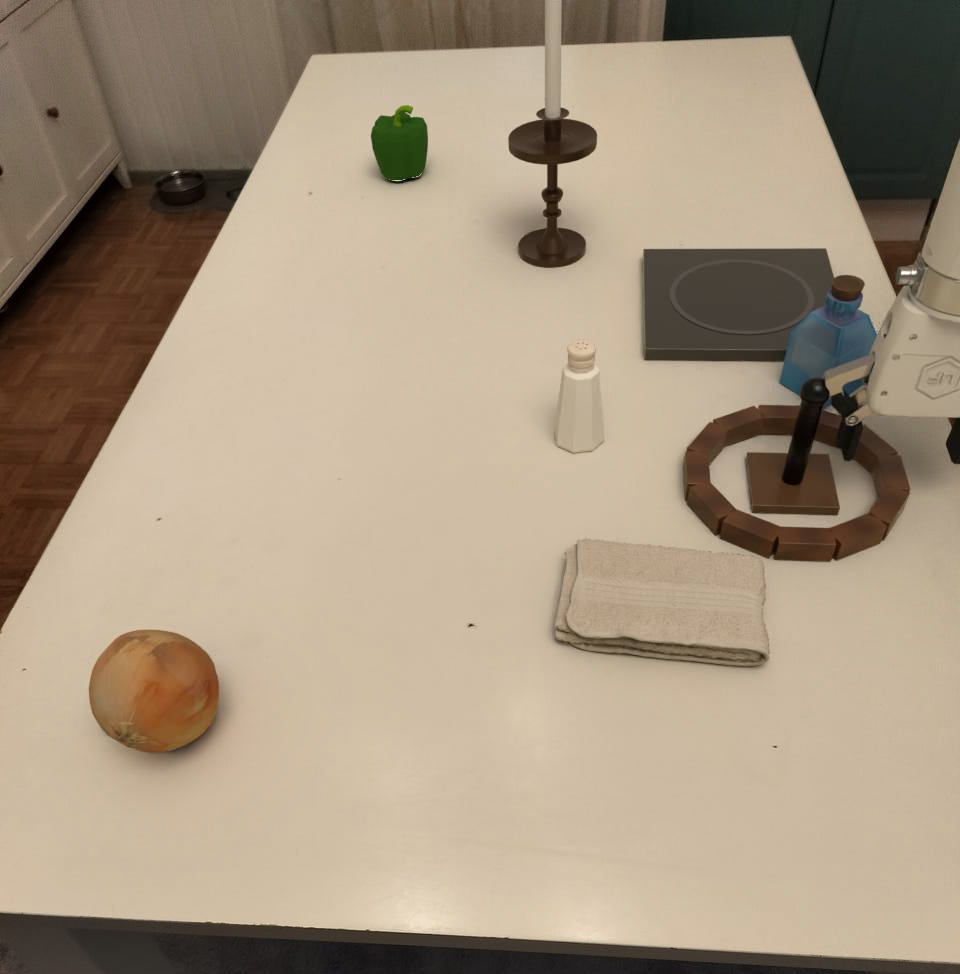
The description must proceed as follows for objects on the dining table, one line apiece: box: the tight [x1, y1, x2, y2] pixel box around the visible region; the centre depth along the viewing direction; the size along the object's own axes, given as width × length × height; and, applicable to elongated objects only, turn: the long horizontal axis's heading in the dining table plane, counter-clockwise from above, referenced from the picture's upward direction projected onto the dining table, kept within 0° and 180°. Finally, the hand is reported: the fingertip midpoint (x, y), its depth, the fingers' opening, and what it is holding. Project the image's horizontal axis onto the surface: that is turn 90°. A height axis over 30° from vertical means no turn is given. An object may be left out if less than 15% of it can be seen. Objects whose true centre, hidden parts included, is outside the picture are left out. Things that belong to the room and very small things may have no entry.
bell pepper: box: [370, 104, 429, 180], centre depth 136 cm, size 8×8×10 cm
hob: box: [642, 247, 835, 362], centre depth 110 cm, size 23×23×2 cm
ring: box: [682, 404, 911, 563], centre depth 89 cm, size 21×21×2 cm
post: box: [745, 377, 841, 516], centre depth 85 cm, size 8×8×12 cm
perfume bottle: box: [778, 274, 878, 410], centre depth 96 cm, size 6×6×12 cm
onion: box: [88, 629, 220, 754], centre depth 72 cm, size 10×10×10 cm
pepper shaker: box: [553, 338, 605, 454], centre depth 92 cm, size 5×5×11 cm
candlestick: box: [507, 0, 598, 268], centre depth 109 cm, size 11×11×35 cm
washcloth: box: [554, 538, 771, 667], centre depth 79 cm, size 12×18×3 cm, turn 81°
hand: (898, 453), depth 86 cm, fingers open, 9 cm apart
